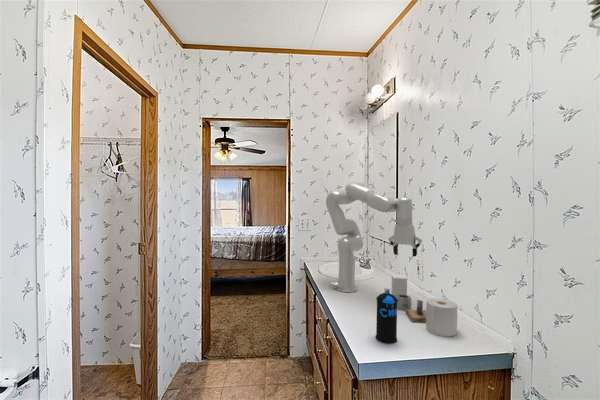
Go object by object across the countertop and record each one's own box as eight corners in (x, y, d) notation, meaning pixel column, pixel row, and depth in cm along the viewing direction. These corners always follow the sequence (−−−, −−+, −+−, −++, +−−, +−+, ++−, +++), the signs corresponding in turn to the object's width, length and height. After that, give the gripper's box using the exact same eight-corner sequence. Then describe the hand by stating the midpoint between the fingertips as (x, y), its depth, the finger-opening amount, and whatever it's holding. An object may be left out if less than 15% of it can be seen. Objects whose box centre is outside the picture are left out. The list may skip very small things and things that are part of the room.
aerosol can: (372, 334, 124) (373, 285, 124) (392, 333, 125) (393, 285, 124) (379, 344, 116) (380, 291, 116) (400, 343, 117) (401, 291, 116)
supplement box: (406, 302, 162) (407, 278, 162) (392, 301, 163) (392, 277, 163) (405, 297, 169) (405, 275, 169) (391, 296, 171) (391, 274, 170)
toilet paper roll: (445, 323, 136) (446, 297, 135) (463, 336, 124) (464, 307, 124) (420, 324, 134) (420, 298, 134) (436, 337, 122) (436, 308, 122)
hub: (398, 310, 150) (399, 298, 150) (395, 305, 157) (395, 294, 157) (412, 310, 150) (412, 298, 150) (408, 306, 156) (408, 294, 156)
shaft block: (411, 322, 136) (412, 304, 136) (405, 313, 146) (405, 297, 146) (434, 323, 136) (435, 305, 136) (426, 314, 146) (427, 297, 146)
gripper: (385, 221, 160) (385, 254, 159) (418, 222, 148) (419, 258, 148) (391, 221, 165) (392, 252, 165) (424, 222, 154) (424, 256, 154)
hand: (405, 255), depth 157 cm, fingers open, 9 cm apart
